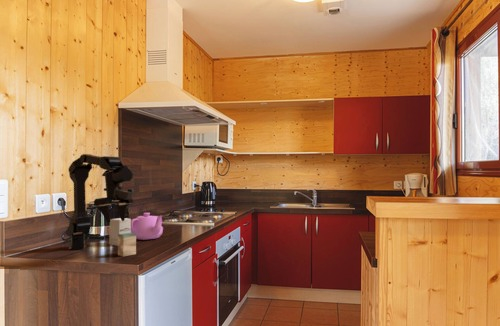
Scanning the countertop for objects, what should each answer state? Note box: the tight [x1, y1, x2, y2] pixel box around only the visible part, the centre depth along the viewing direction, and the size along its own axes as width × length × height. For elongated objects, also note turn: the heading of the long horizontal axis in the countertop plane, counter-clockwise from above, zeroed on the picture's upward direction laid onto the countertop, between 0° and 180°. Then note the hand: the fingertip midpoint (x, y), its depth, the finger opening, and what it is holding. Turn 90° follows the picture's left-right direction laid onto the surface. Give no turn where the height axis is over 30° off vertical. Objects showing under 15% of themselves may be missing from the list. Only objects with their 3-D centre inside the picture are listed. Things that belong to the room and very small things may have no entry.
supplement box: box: [108, 217, 132, 247], centre depth 181 cm, size 7×7×13 cm
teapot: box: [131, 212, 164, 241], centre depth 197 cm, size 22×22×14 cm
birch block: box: [117, 232, 137, 257], centre depth 159 cm, size 4×6×9 cm
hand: (116, 221), depth 154 cm, fingers open, 9 cm apart
